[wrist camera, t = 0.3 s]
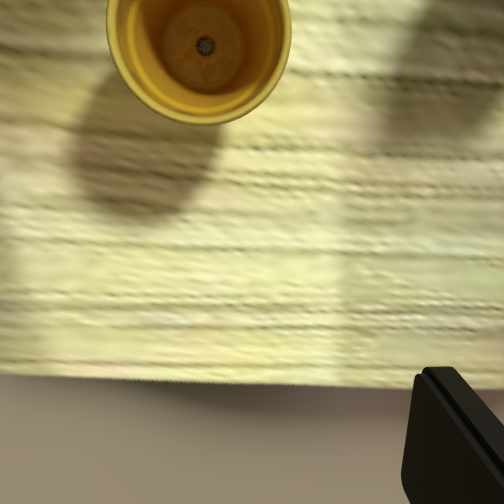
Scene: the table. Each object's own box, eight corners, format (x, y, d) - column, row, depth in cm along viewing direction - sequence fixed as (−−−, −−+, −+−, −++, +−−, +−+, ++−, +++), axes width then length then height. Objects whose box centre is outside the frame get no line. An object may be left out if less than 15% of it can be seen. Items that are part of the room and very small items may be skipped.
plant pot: (218, -64, 34) (218, -123, 25) (299, 64, 37) (327, 55, 28) (104, 29, 35) (64, 6, 26) (192, 146, 38) (184, 163, 29)
